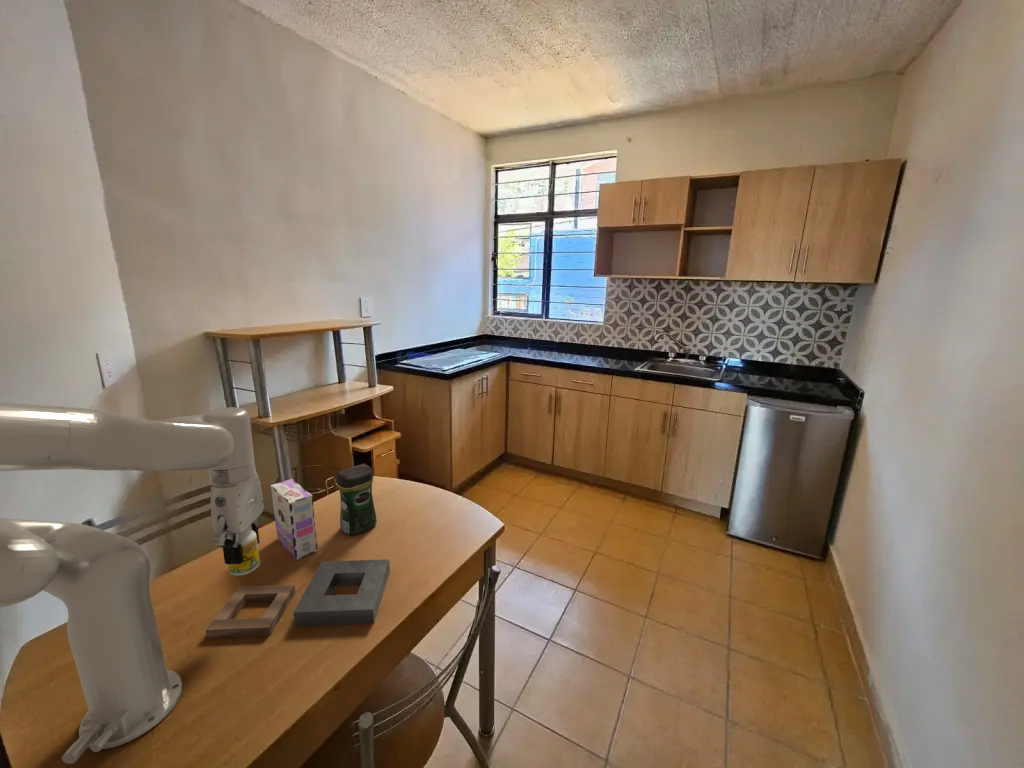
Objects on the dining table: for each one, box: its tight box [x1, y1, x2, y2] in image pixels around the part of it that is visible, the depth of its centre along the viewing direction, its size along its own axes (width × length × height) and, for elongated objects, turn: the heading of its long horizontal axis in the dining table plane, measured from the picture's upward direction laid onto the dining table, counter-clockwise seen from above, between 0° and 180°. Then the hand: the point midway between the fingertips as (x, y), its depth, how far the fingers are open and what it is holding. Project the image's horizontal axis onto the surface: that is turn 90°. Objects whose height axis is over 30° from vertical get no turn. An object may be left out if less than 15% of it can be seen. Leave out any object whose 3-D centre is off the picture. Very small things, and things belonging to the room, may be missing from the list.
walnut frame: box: [205, 584, 296, 639], centre depth 89 cm, size 12×12×2 cm
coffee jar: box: [336, 463, 378, 536], centre depth 119 cm, size 10×8×19 cm
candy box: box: [270, 478, 319, 561], centre depth 110 cm, size 14×6×16 cm, turn 47°
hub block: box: [292, 558, 391, 628], centre depth 94 cm, size 16×16×4 cm
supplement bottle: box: [227, 525, 261, 576], centre depth 84 cm, size 5×5×10 cm
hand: (242, 552), depth 85 cm, fingers closed on supplement bottle, 5 cm apart
